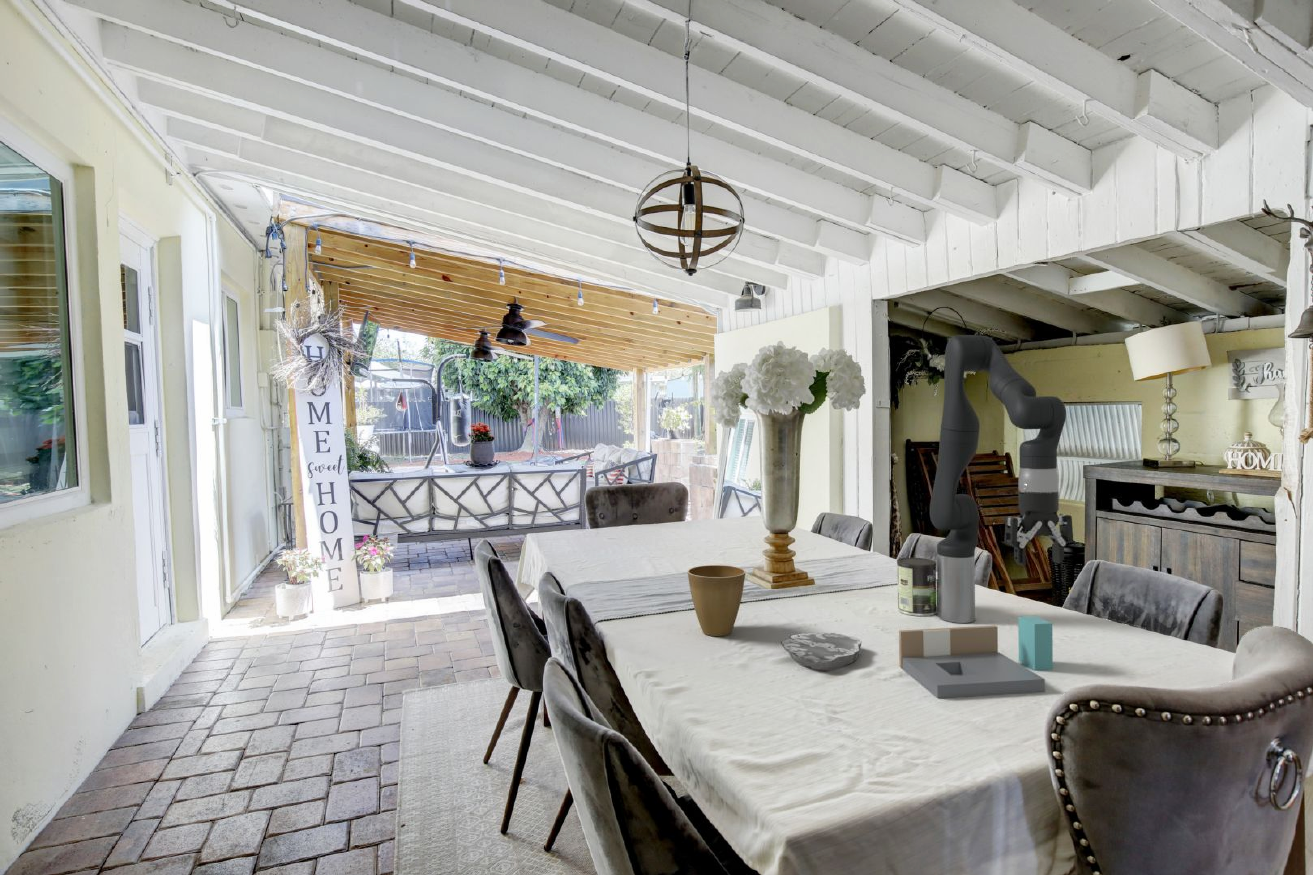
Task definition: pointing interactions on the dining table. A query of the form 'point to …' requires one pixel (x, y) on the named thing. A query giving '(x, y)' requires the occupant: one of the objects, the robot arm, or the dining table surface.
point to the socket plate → (963, 663)
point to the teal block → (1035, 643)
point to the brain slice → (822, 650)
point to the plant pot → (716, 596)
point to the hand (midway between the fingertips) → (1039, 563)
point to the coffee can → (916, 586)
